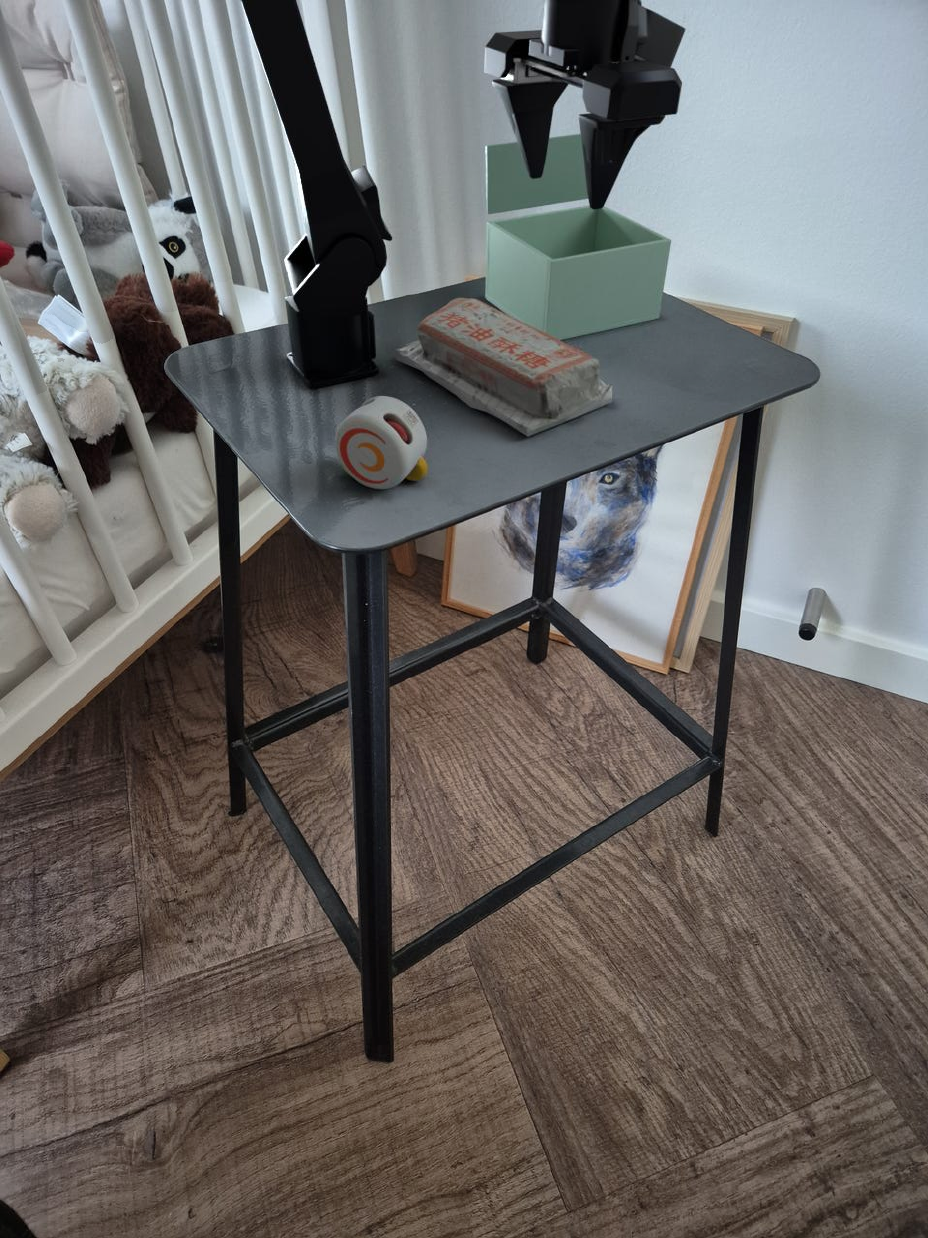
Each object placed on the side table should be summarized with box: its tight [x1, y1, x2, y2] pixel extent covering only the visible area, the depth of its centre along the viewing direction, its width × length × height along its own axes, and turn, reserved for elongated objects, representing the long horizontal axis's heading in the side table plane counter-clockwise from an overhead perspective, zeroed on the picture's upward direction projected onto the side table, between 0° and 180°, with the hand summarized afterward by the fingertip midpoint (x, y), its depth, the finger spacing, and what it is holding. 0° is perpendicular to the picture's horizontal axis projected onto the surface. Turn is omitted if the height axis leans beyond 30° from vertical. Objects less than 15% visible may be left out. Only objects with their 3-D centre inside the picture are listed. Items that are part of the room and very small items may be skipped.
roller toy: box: [334, 395, 428, 490], centre depth 63 cm, size 4×6×6 cm
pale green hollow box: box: [484, 204, 672, 341], centre depth 86 cm, size 13×12×8 cm
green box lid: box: [485, 133, 588, 215], centre depth 85 cm, size 13×6×1 cm
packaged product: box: [393, 297, 613, 438], centre depth 75 cm, size 18×5×10 cm
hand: (564, 192), depth 73 cm, fingers open, 9 cm apart
